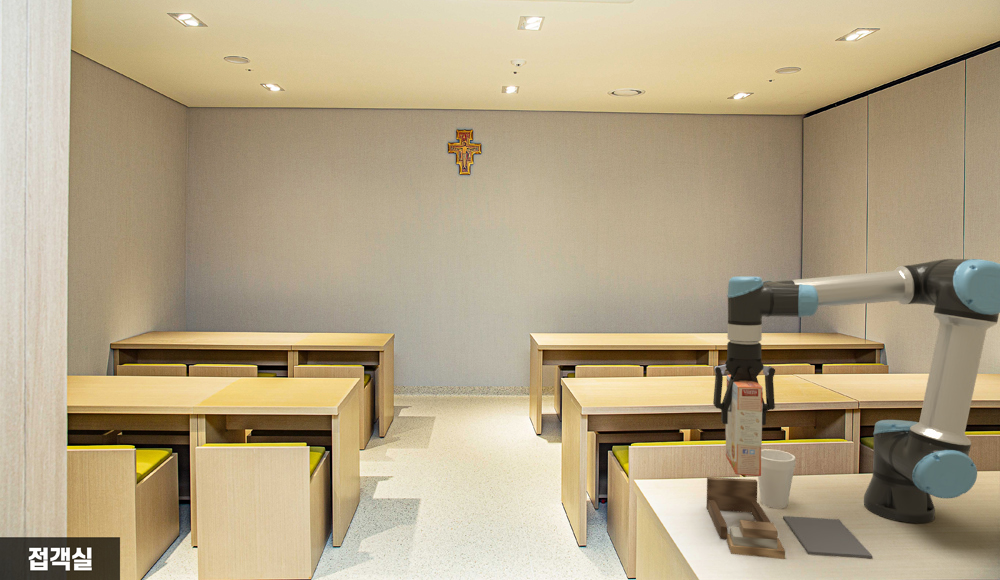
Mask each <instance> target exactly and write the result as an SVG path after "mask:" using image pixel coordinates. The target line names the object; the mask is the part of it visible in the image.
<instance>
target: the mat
mask: <svg viewBox="0 0 1000 580" xmlns="http://www.w3.org/2000/svg"><path fill="white" fill-rule="evenodd" d="M782 519H783V521H784V522H785V523H786V525H787V526H788V528H789V529H790V531H791V532H792V533H793V535H794V536H795V537H796V539H797V541H798V542H799V543H800V545H801V546H802V548H803V549H804V551H805V552H806V554H808V555H816V556H830V557H843V558H844V557H845V558H846V557H847V558H857V559H860V558H862V559H863V558H864V559H873V557H874V556H873V555H872V553H870V551H869V550H868V549H867V548H866V547H865V546H864V545H863V543H861V542H860V540H859V539H858V538H857V537H856V536H855V535H854V534H853V533H852V532H851V530H849V528H848V527H847V526H846V525H845V524H844V523H843V522H842V521H841V520H840V519H839V518H838V519H837V518H822V517H807V516H805V517H803V516H788V515H782Z"/></svg>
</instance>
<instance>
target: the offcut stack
mask: <svg viewBox="0 0 1000 580" xmlns="http://www.w3.org/2000/svg"><path fill="white" fill-rule="evenodd" d="M726 543H727V546H728V548H729V549H728V550H729V552H730V554H731V555H742V556H751V557H761V558H771V559H773V558H774V559H780V560H782V559H783V560H785V559H786V549H785V548H784V546H783V544H782V542H781V541H780V538H778V529H777V527H776V524H775V523H774V522H771V523H769V522H757V521H756V520H745V519H739V526H731V525H730V526H729V533H728V534H727V539H726Z"/></svg>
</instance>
